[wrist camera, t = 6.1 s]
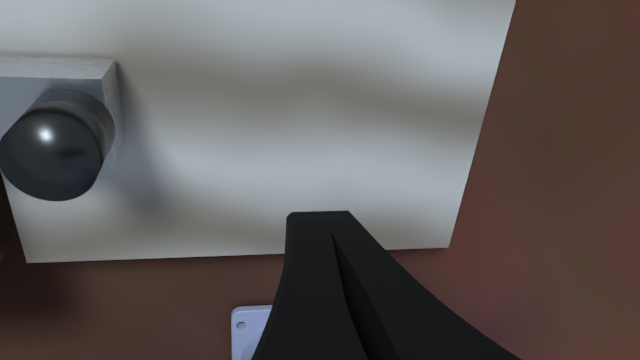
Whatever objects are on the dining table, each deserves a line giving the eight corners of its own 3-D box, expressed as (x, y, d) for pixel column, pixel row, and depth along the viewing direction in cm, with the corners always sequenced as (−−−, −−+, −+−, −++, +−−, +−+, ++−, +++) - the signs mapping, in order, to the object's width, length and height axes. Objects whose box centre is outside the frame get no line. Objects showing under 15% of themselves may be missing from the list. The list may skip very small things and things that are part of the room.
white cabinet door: (433, 222, 24) (487, 310, 19) (-143, 237, 20) (-271, 358, 15) (511, -99, 17) (630, -94, 12) (-354, -188, 13) (-740, -238, 8)
